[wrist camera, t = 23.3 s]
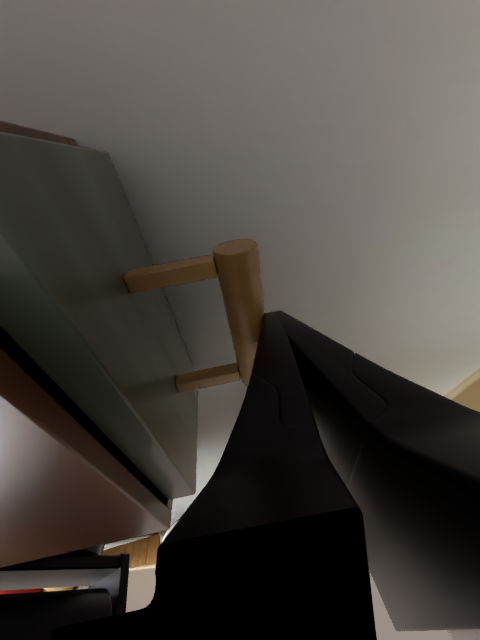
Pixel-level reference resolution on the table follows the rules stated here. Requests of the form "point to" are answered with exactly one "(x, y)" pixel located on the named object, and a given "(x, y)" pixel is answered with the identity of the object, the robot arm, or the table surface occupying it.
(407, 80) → the table surface
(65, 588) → the kendama
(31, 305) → the drawer
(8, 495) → the cabinet
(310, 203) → the table surface
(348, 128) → the table surface
